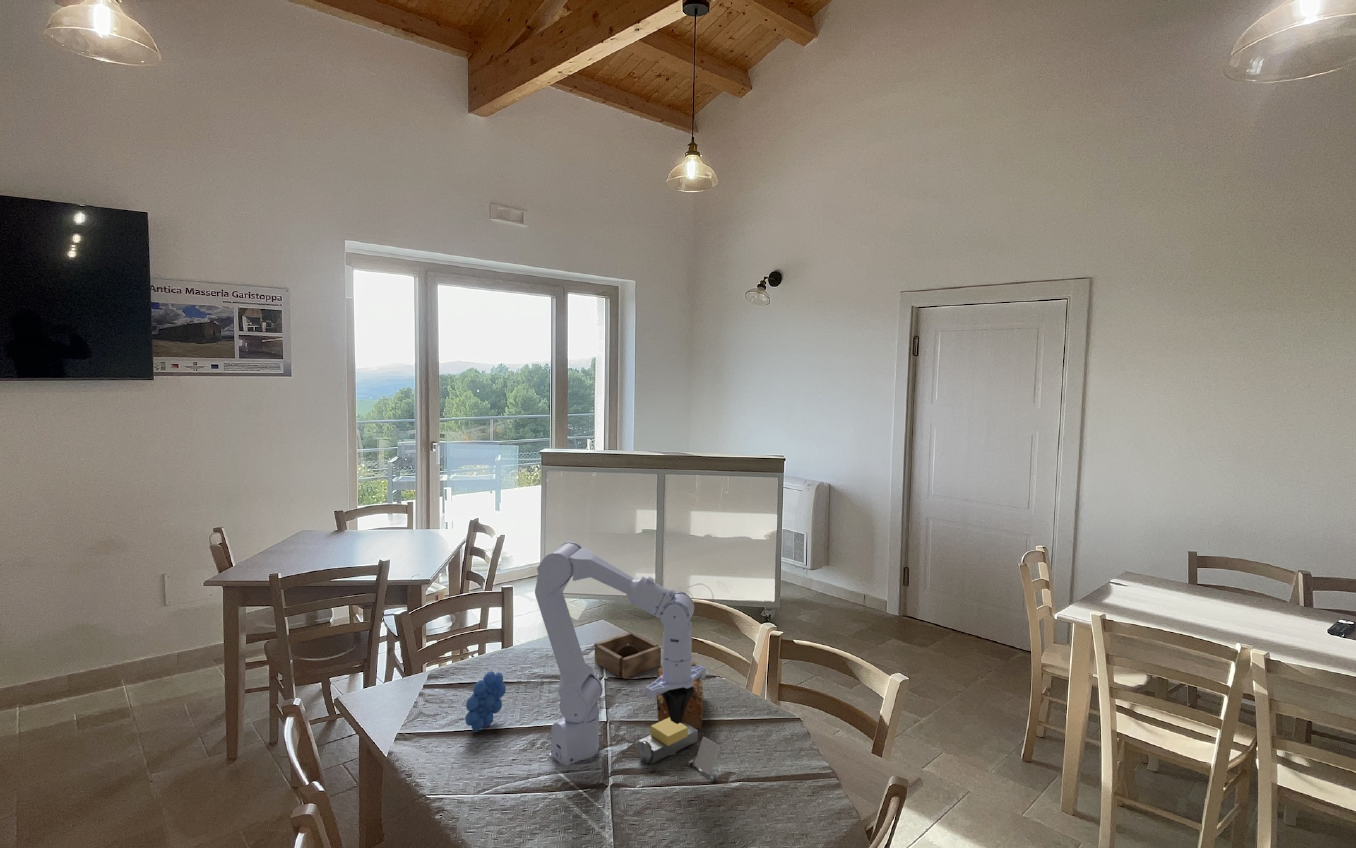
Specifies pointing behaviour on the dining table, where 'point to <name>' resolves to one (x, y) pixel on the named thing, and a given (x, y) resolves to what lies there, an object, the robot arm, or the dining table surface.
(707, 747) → the plate
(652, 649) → the open wooden box
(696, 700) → the bread
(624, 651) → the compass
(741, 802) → the dining table surface
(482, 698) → the grapes
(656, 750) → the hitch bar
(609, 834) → the dining table surface
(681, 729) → the pale yellow block
